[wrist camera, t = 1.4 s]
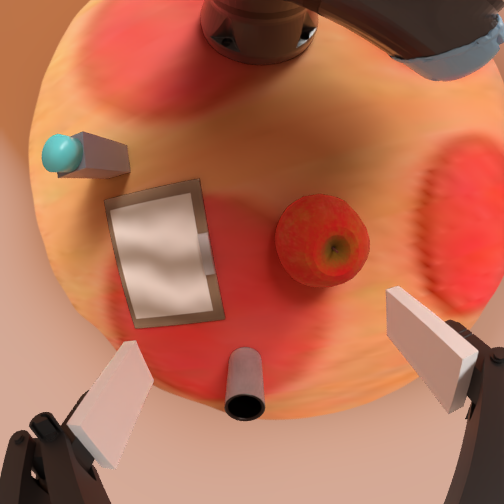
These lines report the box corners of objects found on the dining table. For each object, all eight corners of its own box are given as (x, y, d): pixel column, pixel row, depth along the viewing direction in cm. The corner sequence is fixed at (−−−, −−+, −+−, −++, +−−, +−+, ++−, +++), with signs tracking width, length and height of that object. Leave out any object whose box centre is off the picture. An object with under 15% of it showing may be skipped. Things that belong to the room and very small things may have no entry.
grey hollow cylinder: (239, 341, 38) (237, 388, 28) (267, 355, 38) (273, 403, 28) (223, 363, 39) (217, 412, 29) (250, 377, 39) (251, 426, 29)
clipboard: (105, 200, 33) (101, 200, 32) (199, 178, 33) (197, 178, 32) (136, 327, 37) (133, 331, 36) (225, 318, 37) (224, 322, 36)
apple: (365, 219, 35) (405, 231, 24) (326, 289, 36) (352, 324, 26) (296, 179, 33) (316, 174, 23) (256, 253, 35) (260, 280, 25)
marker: (103, 152, 32) (40, 140, 19) (127, 145, 32) (68, 127, 19) (106, 178, 33) (42, 178, 20) (130, 172, 33) (71, 166, 20)
